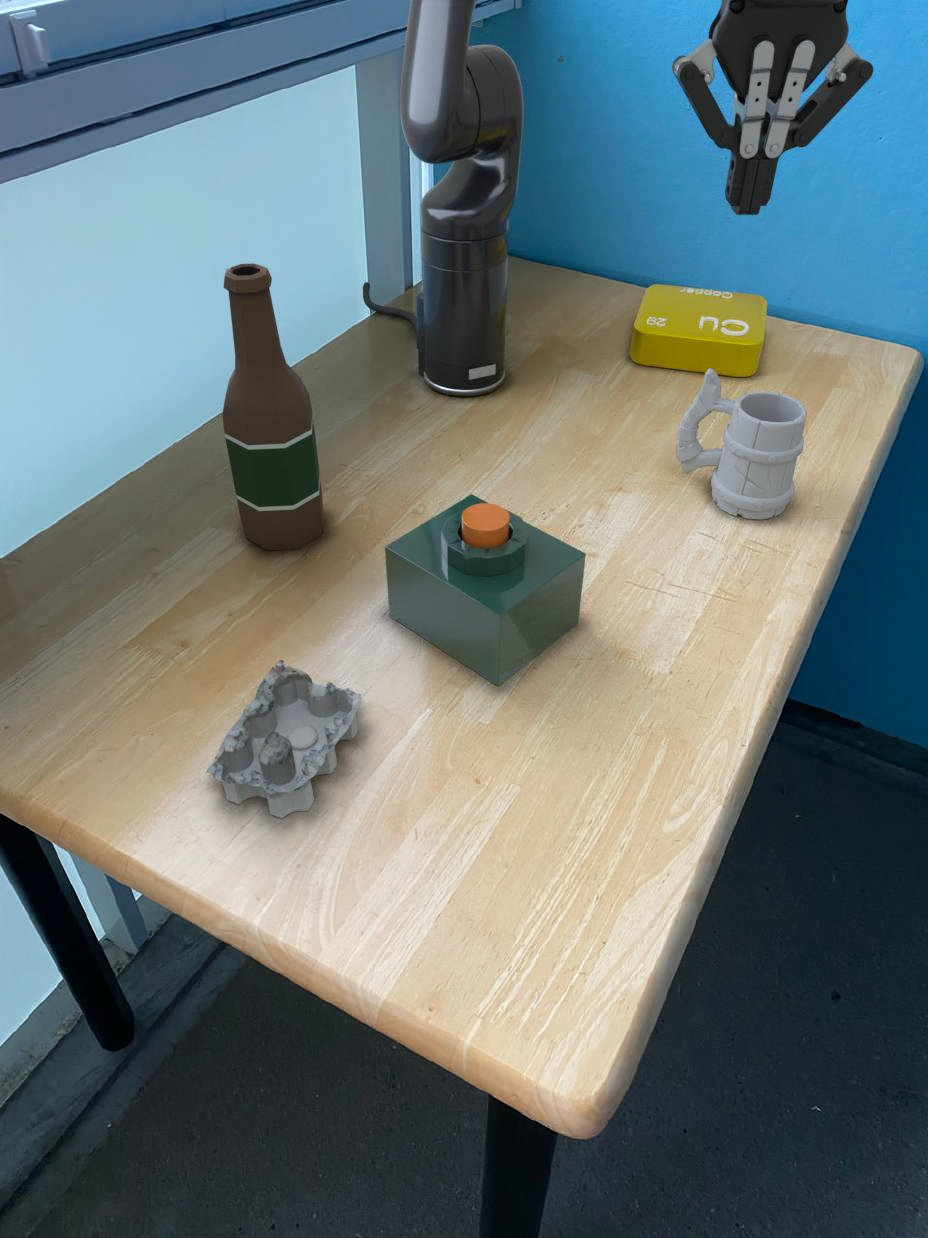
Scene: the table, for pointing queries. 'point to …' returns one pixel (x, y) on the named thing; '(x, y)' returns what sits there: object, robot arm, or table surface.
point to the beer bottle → (268, 424)
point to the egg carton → (285, 740)
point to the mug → (746, 448)
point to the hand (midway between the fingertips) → (743, 211)
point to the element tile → (699, 330)
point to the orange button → (485, 525)
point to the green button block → (484, 591)
